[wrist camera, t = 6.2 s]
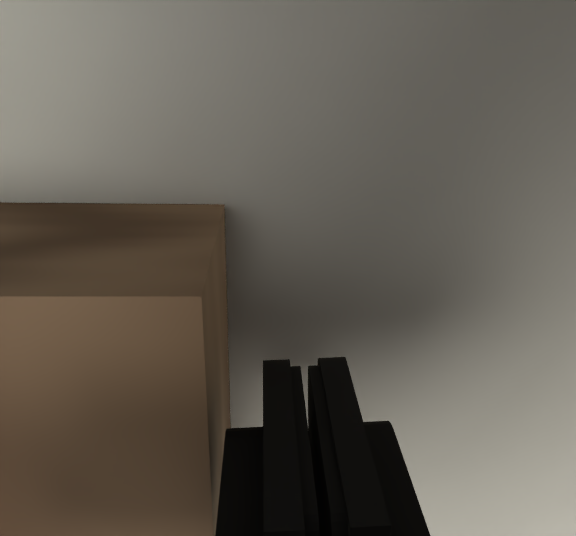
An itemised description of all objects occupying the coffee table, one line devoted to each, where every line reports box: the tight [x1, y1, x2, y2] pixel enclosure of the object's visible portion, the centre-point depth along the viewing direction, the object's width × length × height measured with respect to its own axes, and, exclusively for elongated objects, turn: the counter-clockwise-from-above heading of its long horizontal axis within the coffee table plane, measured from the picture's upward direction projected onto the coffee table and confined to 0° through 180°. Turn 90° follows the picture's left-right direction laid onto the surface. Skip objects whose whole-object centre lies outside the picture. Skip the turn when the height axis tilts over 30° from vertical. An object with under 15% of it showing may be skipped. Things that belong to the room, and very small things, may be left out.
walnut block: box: [0, 202, 231, 536], centre depth 11 cm, size 8×8×5 cm
